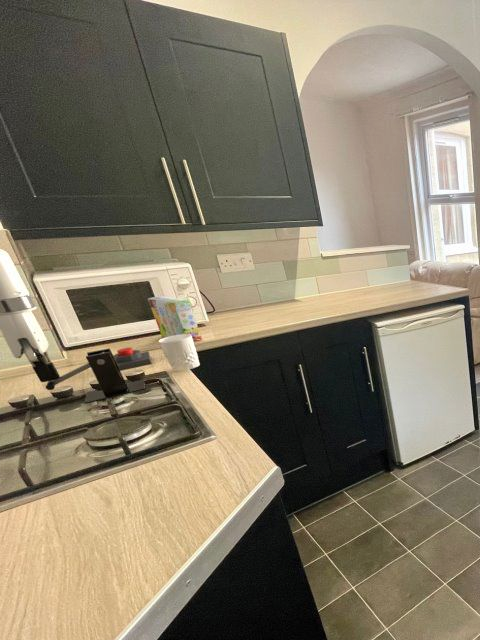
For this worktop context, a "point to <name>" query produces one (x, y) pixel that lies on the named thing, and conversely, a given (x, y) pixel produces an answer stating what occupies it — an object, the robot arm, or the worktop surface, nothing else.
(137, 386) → the lever stand
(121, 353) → the button
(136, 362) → the button box
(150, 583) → the worktop surface
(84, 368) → the press lever
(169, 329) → the snack box
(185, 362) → the white cup
